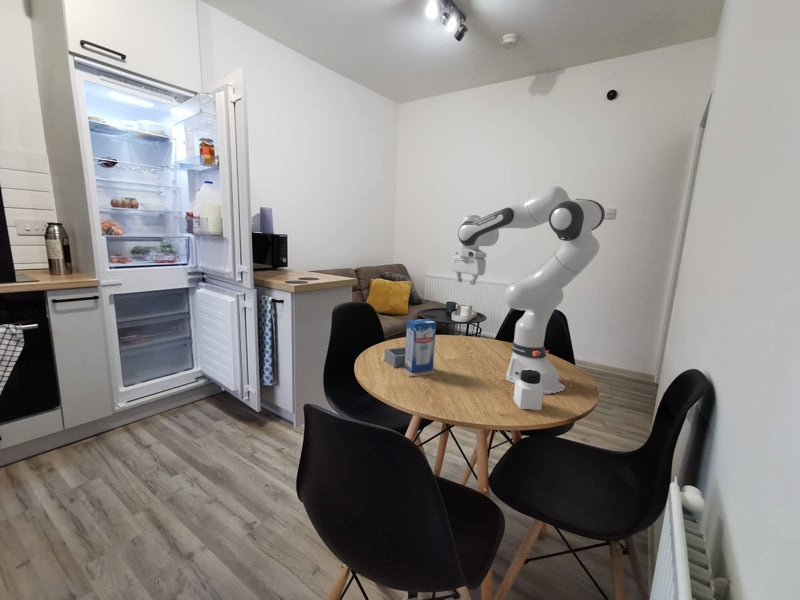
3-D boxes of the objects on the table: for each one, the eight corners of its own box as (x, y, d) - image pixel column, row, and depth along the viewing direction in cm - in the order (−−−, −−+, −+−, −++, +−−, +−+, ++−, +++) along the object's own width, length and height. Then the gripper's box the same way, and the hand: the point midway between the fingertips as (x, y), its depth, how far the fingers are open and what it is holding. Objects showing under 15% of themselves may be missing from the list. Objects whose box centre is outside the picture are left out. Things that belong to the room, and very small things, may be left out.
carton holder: (423, 364, 149) (424, 353, 148) (394, 368, 142) (395, 356, 141) (412, 356, 157) (412, 346, 156) (384, 360, 151) (384, 349, 150)
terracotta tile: (435, 373, 139) (435, 371, 139) (408, 377, 133) (409, 375, 133) (423, 365, 147) (423, 364, 147) (398, 369, 141) (398, 367, 141)
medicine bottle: (541, 410, 112) (546, 375, 110) (519, 409, 112) (523, 374, 110) (533, 400, 119) (538, 367, 117) (512, 399, 119) (516, 366, 117)
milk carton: (425, 365, 146) (428, 318, 142) (432, 370, 140) (436, 322, 137) (404, 367, 141) (406, 320, 138) (411, 373, 136) (414, 323, 132)
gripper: (449, 251, 163) (447, 280, 165) (477, 253, 145) (474, 286, 147) (460, 251, 166) (457, 280, 168) (489, 254, 148) (486, 286, 150)
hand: (466, 283), depth 158 cm, fingers open, 8 cm apart
